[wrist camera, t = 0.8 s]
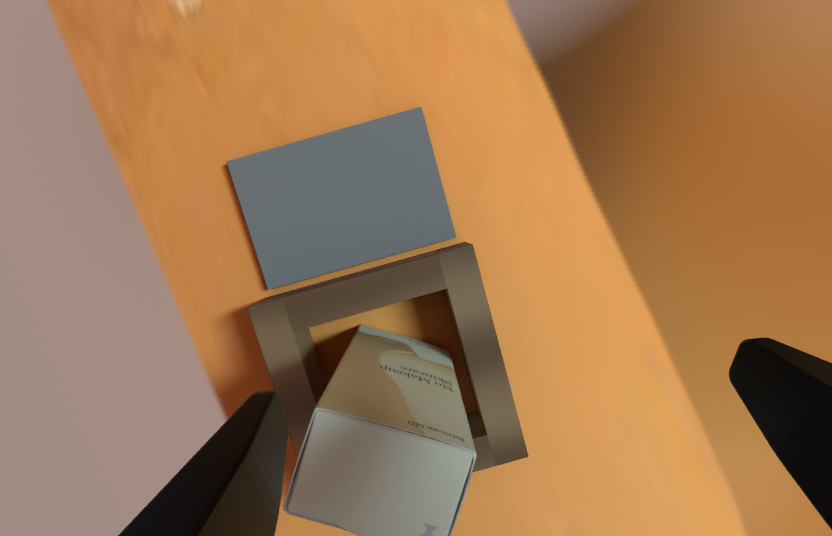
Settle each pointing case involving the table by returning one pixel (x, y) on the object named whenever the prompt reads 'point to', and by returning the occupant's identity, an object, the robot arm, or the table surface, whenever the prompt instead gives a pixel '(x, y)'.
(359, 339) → the skincare box
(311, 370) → the square wooden frame
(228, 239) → the table surface
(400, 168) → the slate mat
